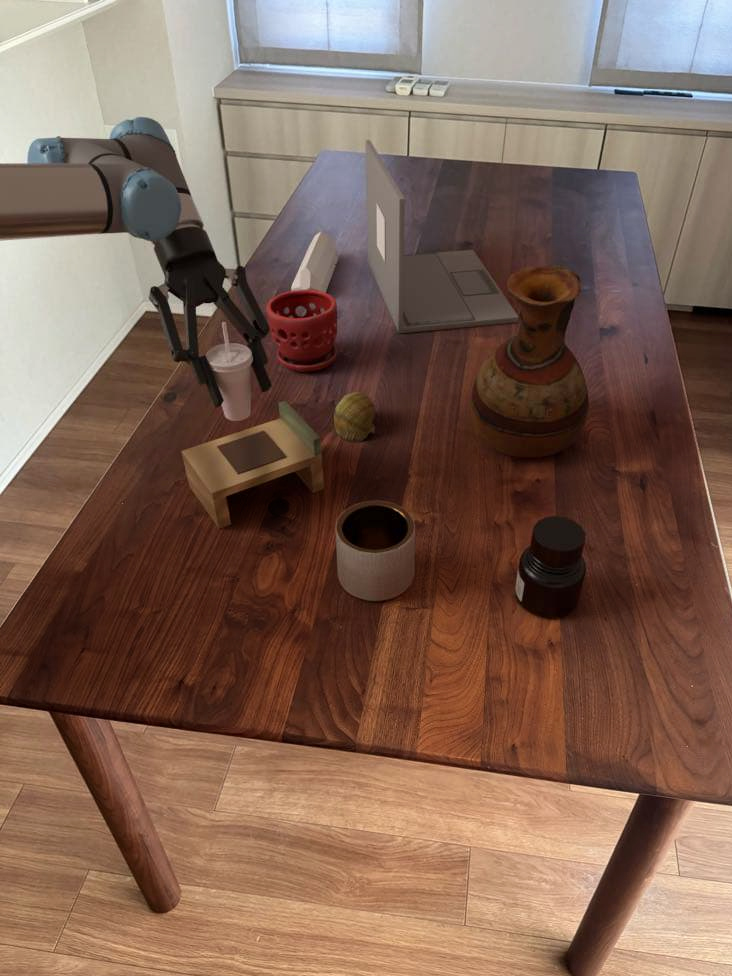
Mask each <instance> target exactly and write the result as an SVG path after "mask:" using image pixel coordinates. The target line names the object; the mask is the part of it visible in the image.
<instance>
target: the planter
mask: <svg viewBox="0 0 732 976" xmlns="http://www.w3.org/2000/svg"><path fill="white" fill-rule="evenodd" d="M334 529H335V545H336V546H335V548H336V571H337V572H336V573H337V577H338V580H339V584H340V585H341V587H342V589H344V591H346V592H347V593H348V594H350V595H351V596H353V597H355V598H357V599H360V600H364V601H369V602H382V601H388V600H391V599H394V598H396V597H399V596H401V595H402V594H404V593H406V591H407V590H408V589H409V588H410V586H411V585H412V583H413V580H414V577H415V570H416V569H415V567H416V566H415V565H416V564H415V563H416V562H415V561H416V560H415V559H416V558H415V557H416V556H415V555H416V554H415V553H416V552H415V551H416V547H415V546H416V543H415V542H416V524H415V520H414V517H413V516H412V515H411V514H410V512H409V511H408V510H407V509H405V508H403V507H402V506H400V505H399V504H396V503H393V502H390V501H385V500H367V501H362V502H359V503H355V504H353V505H351V506H349V507H348V508H346V509H345V510H344V511H342V512H341V514H339V516H338V518H337V519H336V522H335V528H334Z"/></svg>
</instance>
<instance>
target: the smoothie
mask: <svg viewBox="0 0 732 976" xmlns="http://www.w3.org/2000/svg"><path fill="white" fill-rule="evenodd" d="M221 326H222V333H223V339H224V343H221V344H216V345H214V346H212V347H211V348H209V349H208V350H207V351H206V353H205V355H206V358H207V360H208V363H209V365H210V368H211V370H212V373H213V375H214V377H215V380H216V382H217V385H218V387H219V390H220V392H221V395H222V397H223V400H224V401H223V403H222V404H221V408H222V411H223V415H224V417H225V418H226V419H227V420H228V421H233V422H239V421H244V420H246V419H248V418H249V417H250V416H251V414H252V413H251V411H252V410H251V408H252V406H251V403H252V401H251V399H252V396H251V395H252V394H251V393H252V392H251V391H252V390H251V389H252V383H251V381H252V379H251V378H252V375H251V374H252V365H251V363H252V361H253V357H252V352H251V350H250V349H249V348H248V347H247V345H245V344H243V343H237V342H230V341H229V334H228V332H229V331H228V327H227V322H225V321H223V322H221Z"/></svg>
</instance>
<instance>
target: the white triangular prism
mask: <svg viewBox="0 0 732 976" xmlns="http://www.w3.org/2000/svg"><path fill="white" fill-rule="evenodd" d="M338 261H339V254H338V248H337V247H336V245H335V243H334V241H333V240H332V238H331V237H330V235H328V234H326V233H325V232H324V231H322V230H320V231H319V232H318V233H317V234H314V236H313V238H312V241H311V242H310V244H309V246H308V248H307V250H306V253H305V255H304V257H303V259H302V262H301V263H300V265H299V268H298V271H297V273H296V274H295V277H294V279H293V280H292V281H293V282H292V284H291V289H290V291H296V290H315V291H320V292H324V293H327V291H328V288H329V284H330V283H331V279H332V277H333V274H334V272H335V269H336V266H337V263H338ZM335 264H336V265H335Z"/></svg>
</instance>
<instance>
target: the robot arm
mask: <svg viewBox="0 0 732 976" xmlns="http://www.w3.org/2000/svg"><path fill="white" fill-rule="evenodd" d="M26 160H27V163H26V162H25V163H21V162H17V163H15V162H14V163H13V162H12V163H11V162H10V163H7V162H6V163H0V242H2V241H17V240H32V239H44V238H45V239H47V238H60V237H61V238H63V237H75V236H88V235H104V234H105V235H106V234H123V233H125V234H127V233H128V234H129V235H131V236H132V237H134V238H137V239H139V240H140V239H142V240H145V241H147V242H150V243H151V244H152V245H153V252H154V254H155V256H156V259H157V261H158V264H159V266H160V268H161V271H162V273H163V275H164V282H163V283H162V284H160V285H159V286H156V285H153V286H151V287H150V289H149V294H148V299H149V301H150V302H151V304H152V305H153V306H154V308H155V309H156V311H157V313H158V316H159V320H160V323H161V326H162V329H163V333H164V335H165V340H166V342H167V345H168V348H169V349H168V350H169V351H170V355H171V358H172V361H174V362H175V363H181V362H184V363H186V364H187V365H189V366H190V368H191V370H192V373H193V375H194V377H195V380H196V382H197V384H199V386H203V385H205V386H206V388H207V390H208V393H209V396H210V398H211V400H212V403H213V405H214V408H218V407H222V405H221V404H222V403H223V401H224V400H223V397H222V395H221V392H220V390H219V387H218V385H217V382H216V380H215V377H214V375H213V373H212V370H211V368H210V365H209V363H208V360H207V358H206V354H205V355H202V356H199V355H200V354H199V351H200V350H199V338H198V323H197V320H198V319H197V307H200V306H202V305H203V304H214V306H215V307H216V308H217V309H219V310H220V311H221V312H222V314H223V315H224V316H225V317H226V318H227V320H228V321H229V322H230V323H231V324H232V326H233V327H234V328H235V330H237V332H238V333H239V334H240V336H241V337H242V338H243V339H244V341H245V342H246V343H247V345H246V346H247V347H248V348H249V349H250V350H251V352H252V357H253V361H252V363H251V369H252V370H253V373H254V375H255V378H256V380H257V382H258V385H259V388H260V390H261V392H262V393H266V392H268V391H269V390H270V389H271V388H272V386H273V384H272V382H271V380H270V378H269V375H268V372H267V370H266V367H265V366H267V365H268V363H269V359H268V358H269V357H268V355H267V353H266V350H265V348H264V346H263V344H262V340H263V339H265V338H266V337H267V335H268V334H269V332H271V331H270V327H269V323H268V320H267V319H266V317H265V315H264V313H263V311H262V310H261V307H260V305H259V303H258V302H257V299H256V297H255V295H254V293H253V291H252V289H251V286H250V285H249V283H248V280H247V271H246V268H245V267H244V266H243V265H238V266H237V267H236V268H225V265H223V264H222V263H221V262H220V261H219V259H218V257H217V255H216V252H215V250H214V246H213V245H212V241H211V240H210V237H209V234H208V232H207V230H205V229H204V226H205V225H204V222H203V219H202V217H201V215H200V213H199V210H198V207H197V205H196V203H195V201H194V198H193V196H192V193H191V190H190V189H189V184H188V183H187V181H186V177H185V175H184V173H183V170H182V167H181V166H180V165H181V164H180V163H179V160H178V157H177V153H176V150H175V148H174V146H173V145H172V143H171V141H170V139H169V137H168V135H167V133H166V131H165V129H164V128H163V126H162V125H161V123H159V122H158V121H156V120H155V119H153V118H150V117H146V116H135V118H133V119H125V120H122V121H121V122H119V123H117V124H116V125H115V126H114V127H113V128H112V130H111V132H110V135H109V138H92V137H91V138H88V137H61V136H60V135H59V136H58V135H57V136H56V137H44V138H43V137H42V138H41V137H40V138H36V139H34V140H33V141H32V142H31V143H30V145H29V147H28V151H27V159H26ZM225 279H226V280H228V281H229V284H230V285H231V286H233V287H234V290H235V292H236V295H237V297H238V299H239V301H240V303H241V305H242V307H243V309H244V311H245V313H246V315H247V317H248V318H249V320H248V318H247V317H246V316H245V315H244V313H242V311H241V309H240V308H239V307H238V306H237V305H236V304H235V302H234V301H233V300H232V299H231V297H230V294H229V293H228V291H227V290H226V289H225V288H224V287H223V286H224V282H225ZM169 293H170V294H171V295H173V296H174V297H175V298H177V299H179V300H180V301H181V302H182V307H183V308H182V309H183V316H184V331H185V347H186V349H184V347H183V344H182V340H181V338H180V335H179V332H178V328H177V325H176V322H175V319H174V316H173V312H172V310H171V306H170V304H169V298H170V296H169Z"/></svg>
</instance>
